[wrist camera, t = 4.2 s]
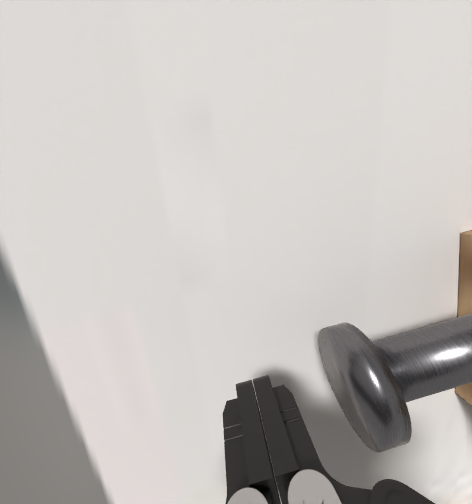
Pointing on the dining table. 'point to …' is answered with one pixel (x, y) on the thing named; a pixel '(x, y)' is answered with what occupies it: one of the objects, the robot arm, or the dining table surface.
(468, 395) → the block
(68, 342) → the dining table surface
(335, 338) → the pin
